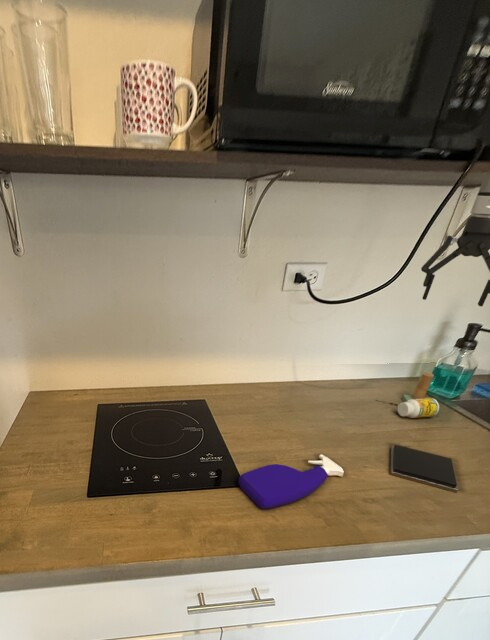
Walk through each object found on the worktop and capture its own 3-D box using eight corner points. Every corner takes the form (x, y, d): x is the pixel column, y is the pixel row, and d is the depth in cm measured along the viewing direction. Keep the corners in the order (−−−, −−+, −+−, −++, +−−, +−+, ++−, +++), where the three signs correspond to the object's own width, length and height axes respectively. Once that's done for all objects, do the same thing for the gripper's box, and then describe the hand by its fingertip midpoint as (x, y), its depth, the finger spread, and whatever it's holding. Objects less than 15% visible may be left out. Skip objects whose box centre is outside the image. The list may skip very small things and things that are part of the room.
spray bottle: (267, 503, 74) (356, 473, 84) (234, 471, 83) (319, 447, 92) (264, 515, 76) (352, 483, 86) (232, 482, 84) (316, 457, 94)
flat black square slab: (450, 463, 93) (453, 457, 92) (456, 493, 83) (460, 486, 83) (390, 448, 97) (392, 443, 96) (389, 474, 88) (392, 468, 87)
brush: (424, 404, 119) (438, 372, 113) (429, 410, 115) (443, 378, 110) (400, 401, 120) (412, 370, 114) (403, 407, 116) (417, 375, 111)
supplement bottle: (424, 398, 114) (395, 399, 112) (440, 397, 109) (410, 399, 107) (424, 416, 114) (395, 418, 113) (440, 416, 109) (410, 418, 107)
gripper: (431, 214, 100) (402, 298, 112) (552, 220, 91) (507, 311, 103) (429, 213, 106) (402, 293, 118) (543, 218, 97) (501, 305, 108)
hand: (451, 302), depth 110 cm, fingers open, 13 cm apart
